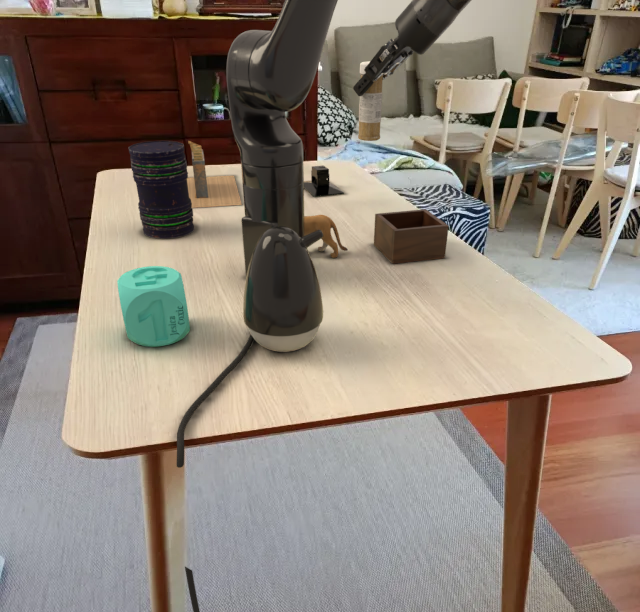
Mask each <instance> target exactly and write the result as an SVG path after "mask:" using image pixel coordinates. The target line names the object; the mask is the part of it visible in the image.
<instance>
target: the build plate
mask: <svg viewBox="0 0 640 612" xmlns="http://www.w3.org/2000/svg"><path fill="white" fill-rule="evenodd" d="M310 178H311V179H310V180H304V191H306V192H307V193H309V195H310V196H312V197H313V198H321V197H322V198H323V197H332V196H339V195H345V192H344V191H343V190H342V189H340V188H339V187H337V186H335V184H333V183H332V182H331V181H330V169H329V168H328V167H326V166H325V165H314V166H311V170H310Z"/></svg>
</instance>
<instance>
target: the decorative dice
mask: <svg viewBox="0 0 640 612" xmlns="http://www.w3.org/2000/svg"><path fill="white" fill-rule="evenodd" d="M116 281H117V291H118V297H119V303H120V304H119V305H120V310H121V314H122V319H123V320H122V321H123V324H124V328H125V333H126V337H127V339H128V340H129V341H130V342H132V343H134V344H136V345H139V346H142V347H149V348H156V347H158V348H159V347H165V346H169V345H173V344H176V343H178V342H180V341H182V340H183V339H184V338H186V336H187V335H188V334H189V332H190V331H191V324H190V317H189V309H188V303H187V296H186V292H185V287H184V280H183V277H182V273H181V272H180V271H178V270H177V269H175V268H173V267H169V266H164V265H149V266H142V267H137V268H133V269H130V270H128V271H126V272H124V273H123V274H121V275H120V276H119V277H118V279H117V280H116Z"/></svg>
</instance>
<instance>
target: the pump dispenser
mask: <svg viewBox="0 0 640 612" xmlns="http://www.w3.org/2000/svg"><path fill="white" fill-rule="evenodd" d="M321 238H323V233H322V231H321V230H317V231H314V232H312V233H310V234H308V235H305V236H303V237H300V236H299V235H298V234H297V233H296V232H295V231H293V230H292V229H290V228H288V227H284V226H277V227H273V228H270V229H268V230H267V231H265V232H264V233H263V234H262V236H261V237H260V239H259V240H258V242H257V244H256V247H255V249H254V252H253V254H252V257H251V260H250V264H249V268H248V272H247V276H246V275H245V282H244V290H243V302H242V303H243V305H242V309H243V310H242V314H243V322H244V324H245V326H246V327H247V329H248V331H249V333H250V334H251V335H252V337H253V338H254V341H255V342H256V343H257V344H259V345H260V346H261V347H262V348H265V349H267V350H270V351H273V352H279V353H288V352H294V351H297V350H300V349H303V348H305V347H306V346H308V345H309V344H310V343H311V342H312V341H313V340H314V339H315V337H316V335H317V333H318V332H319V328H320V325H321V323H322V322H323V320H324V305H323V296H322V292H321V286H320V282H319V276H318V273H317V270H316V267H315V264H314V262H313V259H312V257H311V254H310V253H309V250H308V248H309V247H311V246H312V245H314V244H315V243H317V242H318V241H320V240H322V239H321Z"/></svg>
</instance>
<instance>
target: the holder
mask: <svg viewBox="0 0 640 612" xmlns="http://www.w3.org/2000/svg"><path fill="white" fill-rule="evenodd" d="M449 227H450V226H449V224H447V223H446V222H444V221H443V220H442V219H440V218H438V217H437V216H436V215H434V214H433V213H432V212H431V211H429V210H428V209H426V208H425V209H424V208H423V209H413V210H400V211H389V212H380V213H375V214H374V229H373V230H374V231H373V246H374V247H375V248H376V249H377V250H378V251H379V253H381V254H382V255H383V256H384V257H385V258H386V259H387V260H388V261H389V262H390V263H391V264H392V265H395V264H405V263H411V262H412V263H413V262H422V261H423V262H424V261H431V260H440V259H445V258H446V251H447V243H448V234H449Z"/></svg>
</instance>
